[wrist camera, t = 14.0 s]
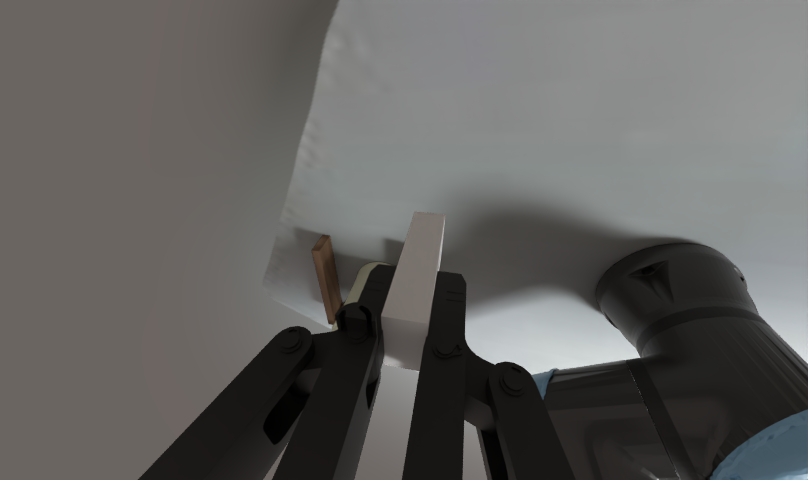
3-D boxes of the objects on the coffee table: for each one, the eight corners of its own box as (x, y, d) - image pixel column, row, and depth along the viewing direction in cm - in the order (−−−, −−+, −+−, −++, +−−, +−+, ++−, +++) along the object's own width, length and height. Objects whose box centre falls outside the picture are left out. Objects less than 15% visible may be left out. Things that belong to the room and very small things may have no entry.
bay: (418, 246, 44) (414, 263, 41) (415, 319, 54) (412, 338, 51) (322, 235, 46) (311, 250, 43) (336, 307, 56) (328, 323, 53)
